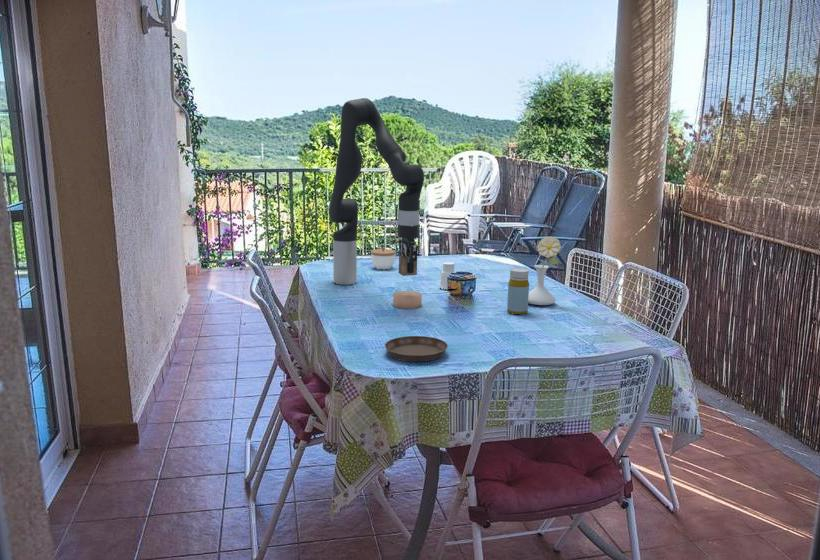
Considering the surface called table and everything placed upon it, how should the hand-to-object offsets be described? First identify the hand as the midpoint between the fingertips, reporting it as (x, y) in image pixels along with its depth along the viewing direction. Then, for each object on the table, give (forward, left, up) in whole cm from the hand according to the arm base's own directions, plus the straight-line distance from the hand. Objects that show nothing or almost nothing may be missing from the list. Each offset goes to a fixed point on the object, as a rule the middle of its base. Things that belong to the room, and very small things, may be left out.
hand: (407, 271), depth 258 cm
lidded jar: (-62, +11, -12) cm, 64 cm away
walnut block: (0, 0, -1) cm, 1 cm away
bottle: (+20, +33, -12) cm, 41 cm away
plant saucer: (+52, -16, -13) cm, 56 cm away
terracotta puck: (0, 0, -12) cm, 12 cm away
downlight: (-20, +24, -12) cm, 34 cm away
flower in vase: (+12, +47, -12) cm, 50 cm away
